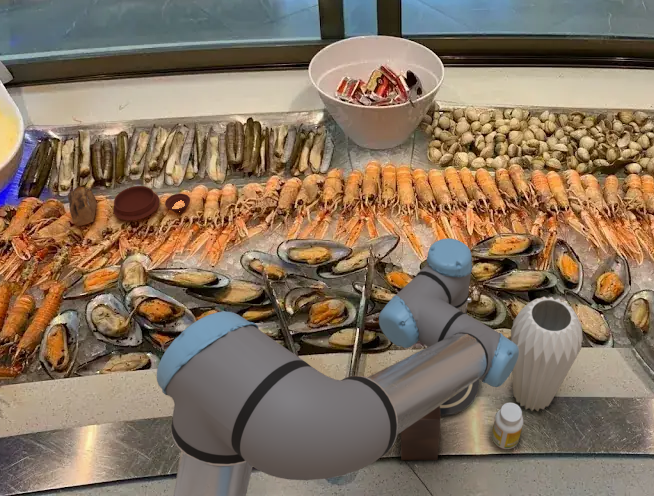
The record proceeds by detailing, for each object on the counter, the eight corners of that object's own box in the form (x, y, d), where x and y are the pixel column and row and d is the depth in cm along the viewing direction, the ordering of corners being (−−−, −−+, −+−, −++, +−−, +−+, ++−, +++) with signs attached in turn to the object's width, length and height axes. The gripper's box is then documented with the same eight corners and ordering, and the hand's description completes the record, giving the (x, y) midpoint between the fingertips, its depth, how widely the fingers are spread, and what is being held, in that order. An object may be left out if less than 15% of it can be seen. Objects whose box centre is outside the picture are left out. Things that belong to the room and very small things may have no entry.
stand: (401, 460, 127) (400, 419, 117) (401, 426, 132) (400, 384, 122) (437, 459, 127) (440, 419, 117) (436, 426, 132) (439, 384, 122)
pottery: (122, 196, 181) (117, 184, 178) (196, 195, 182) (193, 182, 179) (109, 226, 172) (104, 214, 169) (187, 224, 173) (183, 212, 170)
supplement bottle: (488, 444, 130) (492, 418, 123) (496, 420, 133) (501, 395, 127) (514, 454, 128) (520, 429, 122) (522, 430, 132) (528, 404, 125)
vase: (526, 355, 145) (544, 275, 127) (577, 394, 138) (603, 315, 120) (487, 393, 138) (499, 314, 120) (538, 436, 131) (559, 359, 113)
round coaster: (422, 428, 132) (422, 425, 131) (391, 365, 142) (390, 363, 142) (492, 398, 137) (493, 396, 136) (457, 340, 147) (457, 337, 147)
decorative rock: (99, 229, 172) (85, 198, 164) (74, 234, 170) (59, 203, 163) (100, 199, 180) (87, 169, 173) (76, 204, 178) (62, 173, 171)
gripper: (465, 349, 114) (458, 419, 130) (468, 274, 127) (461, 346, 143) (422, 346, 115) (420, 416, 130) (429, 271, 127) (426, 343, 143)
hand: (441, 379), depth 137 cm, fingers closed on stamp, 4 cm apart
